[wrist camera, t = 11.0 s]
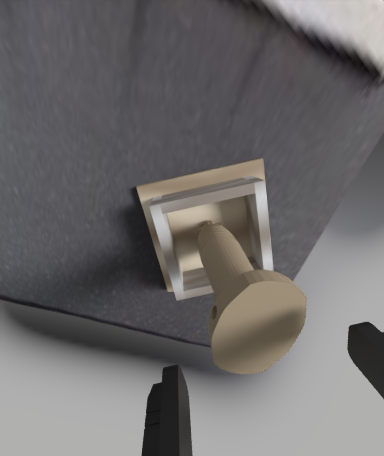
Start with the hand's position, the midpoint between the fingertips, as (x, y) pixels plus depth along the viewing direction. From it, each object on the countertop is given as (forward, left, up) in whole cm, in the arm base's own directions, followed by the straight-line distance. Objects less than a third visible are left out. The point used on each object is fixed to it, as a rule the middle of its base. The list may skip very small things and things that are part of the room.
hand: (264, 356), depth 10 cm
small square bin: (0, 0, -18) cm, 18 cm away
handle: (0, 0, -17) cm, 17 cm away
